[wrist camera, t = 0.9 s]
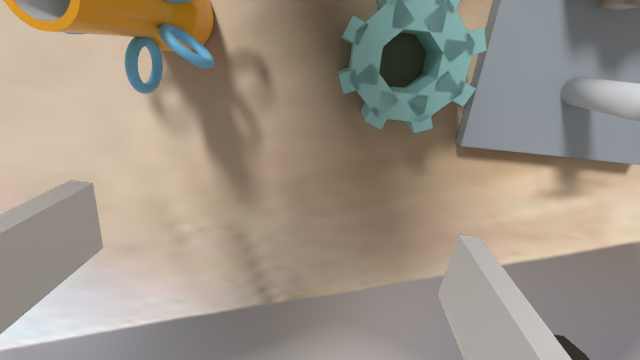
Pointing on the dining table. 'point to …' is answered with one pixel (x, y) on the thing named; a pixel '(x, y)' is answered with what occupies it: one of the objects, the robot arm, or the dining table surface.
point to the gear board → (557, 82)
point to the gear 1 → (438, 70)
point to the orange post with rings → (130, 27)
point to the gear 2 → (618, 4)
